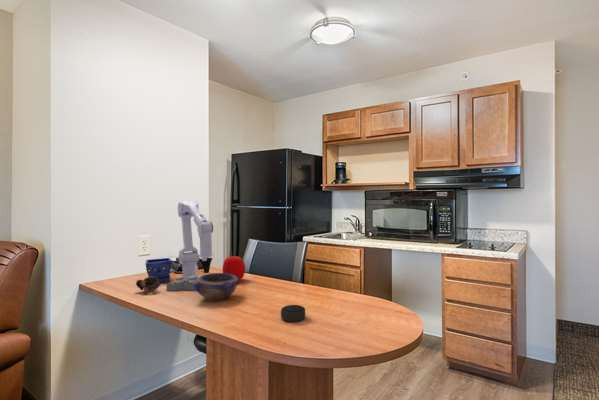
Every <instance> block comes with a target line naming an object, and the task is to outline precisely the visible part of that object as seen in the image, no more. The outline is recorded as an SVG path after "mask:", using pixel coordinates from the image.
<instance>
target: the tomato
mask: <svg viewBox="0 0 599 400" xmlns="http://www.w3.org/2000/svg"><path fill="white" fill-rule="evenodd" d="M222 273H226V274H231V275H234V276H237V277H238V278H239V280H240V281H241V280H242V279H243V277H244V276H245V273H246V264H245V262H244V260H243V258H241V257H240V256H237V255H235V256H234V254H232V255H231V256H227V257H226V258H225V260H224V261H223V264H222Z"/></svg>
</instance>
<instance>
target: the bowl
mask: <svg viewBox="0 0 599 400" xmlns="http://www.w3.org/2000/svg"><path fill="white" fill-rule="evenodd" d="M198 277H199V278H198V279H197V281H196V282H195V283H194V288H195V290H194V291H196V292H197V293H198V294H199V295H200V296H201V297H202V298H204V299H205V300H206V301H210V302H217V301H222V300H224V299H227V298H228V297H230V296H231V295H232V294H233V293H234V292H235V290H236V289H237V286H238V285H239V284H240V283H241V280H239V278H238V277H237V276H234V275H231V274H226V273H223V272H213V273H212V272H209V273H205V274H203V275H201V276H198Z"/></svg>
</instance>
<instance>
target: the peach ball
mask: <svg viewBox="0 0 599 400" xmlns="http://www.w3.org/2000/svg"><path fill="white" fill-rule="evenodd" d="M174 281H175V282H176V284H183V283H184V276H183V275H177V276H175V277H174Z"/></svg>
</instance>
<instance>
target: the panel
mask: <svg viewBox="0 0 599 400" xmlns="http://www.w3.org/2000/svg"><path fill="white" fill-rule="evenodd" d="M166 291H169V292H170V291H171V292H172V291H173V292H174V291H176V292H177V291H178V292H179V291H185V292H186V291H196V290H195V288H194V284H189V281H184V283H183V284H176V282H175V280H173V281H171V282H169V283H167V284H166Z"/></svg>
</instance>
